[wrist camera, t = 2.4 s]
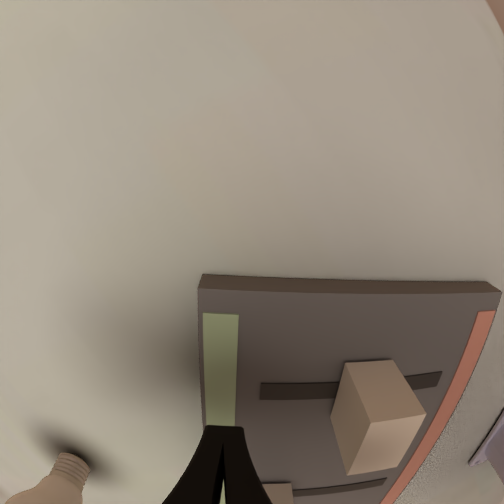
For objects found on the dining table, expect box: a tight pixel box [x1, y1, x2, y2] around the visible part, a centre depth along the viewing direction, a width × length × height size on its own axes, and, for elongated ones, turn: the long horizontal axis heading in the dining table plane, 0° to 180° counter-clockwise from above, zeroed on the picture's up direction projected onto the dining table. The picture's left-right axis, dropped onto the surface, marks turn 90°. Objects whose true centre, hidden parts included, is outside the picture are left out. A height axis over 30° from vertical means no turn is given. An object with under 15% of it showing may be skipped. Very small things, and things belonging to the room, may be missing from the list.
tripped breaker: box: [330, 360, 427, 475], centre depth 12 cm, size 2×4×4 cm
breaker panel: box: [198, 274, 502, 504], centre depth 17 cm, size 15×30×2 cm, turn 177°
